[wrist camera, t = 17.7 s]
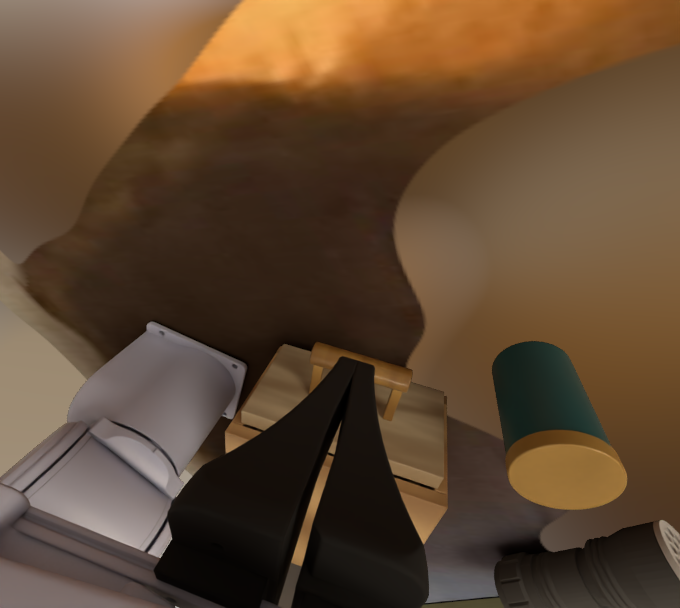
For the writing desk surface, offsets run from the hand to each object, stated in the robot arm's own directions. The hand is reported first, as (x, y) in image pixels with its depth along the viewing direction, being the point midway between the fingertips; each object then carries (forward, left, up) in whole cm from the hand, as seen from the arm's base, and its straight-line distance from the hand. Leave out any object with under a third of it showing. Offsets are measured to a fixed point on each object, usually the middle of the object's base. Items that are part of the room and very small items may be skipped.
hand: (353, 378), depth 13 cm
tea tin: (+12, -3, -10) cm, 16 cm away
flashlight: (+26, -18, -11) cm, 33 cm away
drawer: (+2, -12, -10) cm, 16 cm away
